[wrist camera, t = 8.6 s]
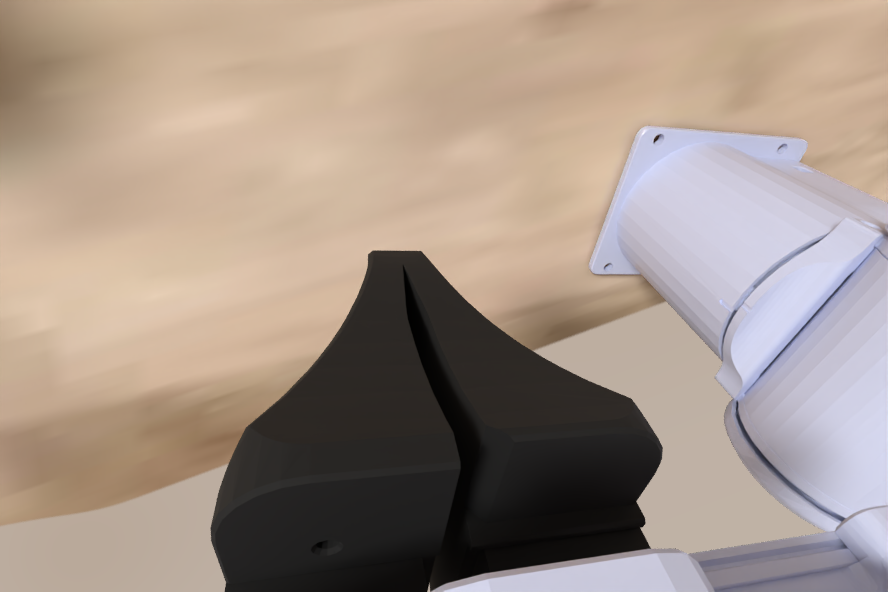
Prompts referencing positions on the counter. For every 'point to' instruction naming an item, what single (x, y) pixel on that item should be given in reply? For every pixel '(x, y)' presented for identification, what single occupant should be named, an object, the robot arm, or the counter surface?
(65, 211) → the counter surface
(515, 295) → the counter surface
